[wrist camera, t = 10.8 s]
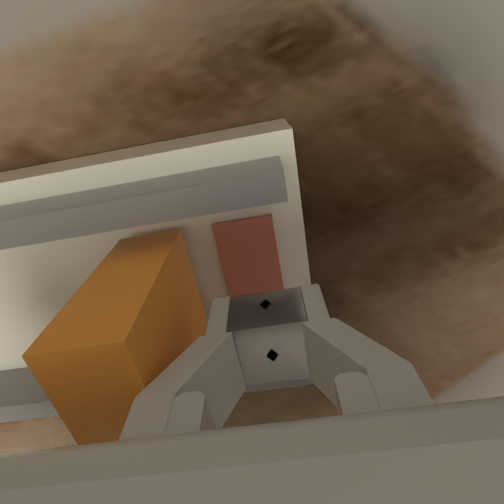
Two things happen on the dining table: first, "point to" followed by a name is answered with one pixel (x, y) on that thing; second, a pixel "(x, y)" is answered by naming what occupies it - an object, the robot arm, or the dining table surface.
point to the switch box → (146, 231)
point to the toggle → (118, 334)
